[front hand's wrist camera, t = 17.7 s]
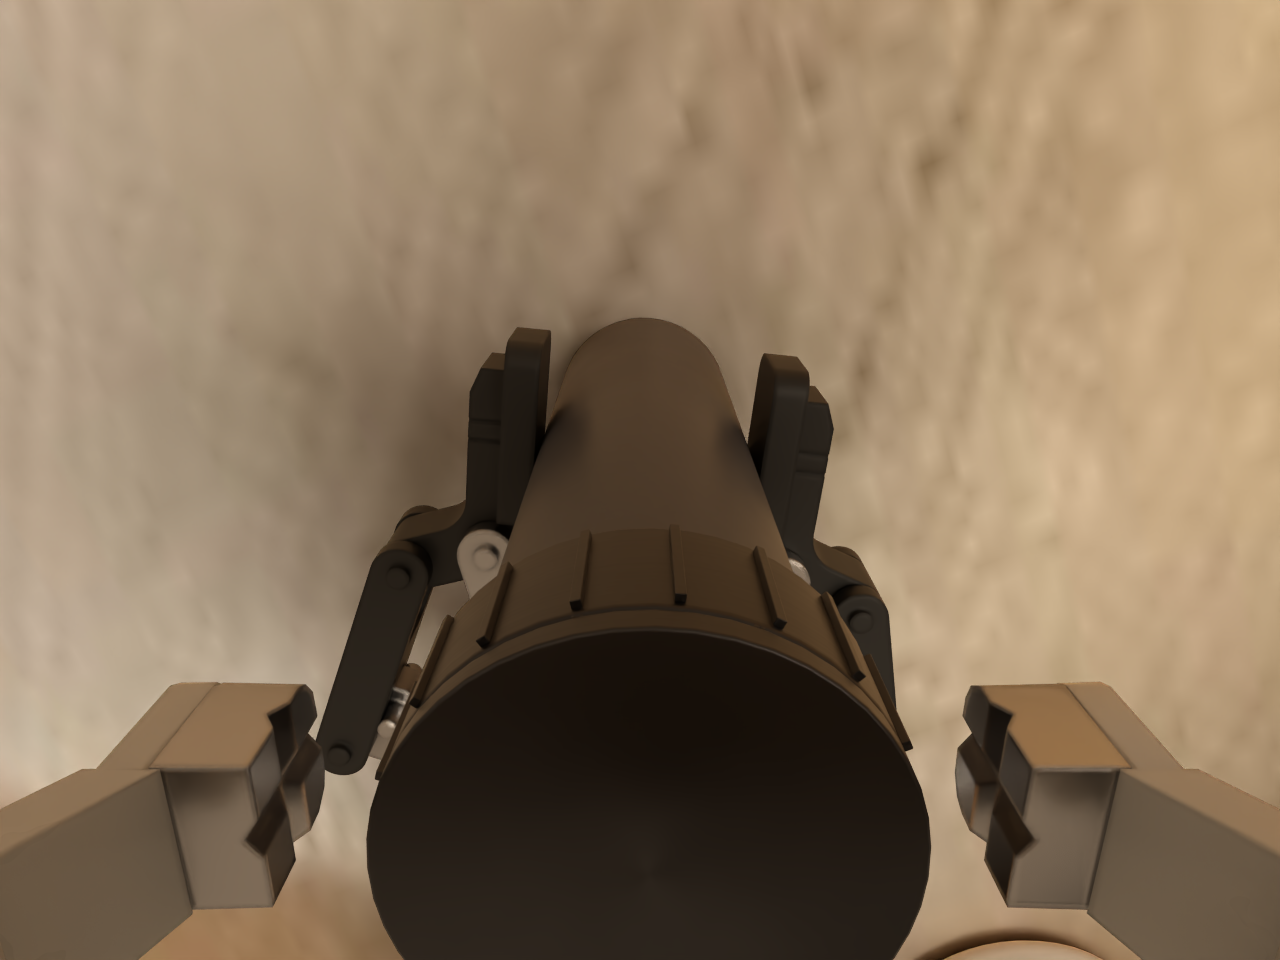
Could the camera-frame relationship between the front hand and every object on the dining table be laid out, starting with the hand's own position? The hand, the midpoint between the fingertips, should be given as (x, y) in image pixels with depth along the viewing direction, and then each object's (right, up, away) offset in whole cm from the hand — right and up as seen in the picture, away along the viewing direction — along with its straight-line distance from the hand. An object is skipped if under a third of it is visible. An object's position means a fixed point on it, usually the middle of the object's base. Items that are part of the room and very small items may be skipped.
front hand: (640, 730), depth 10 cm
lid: (0, -1, -2) cm, 2 cm away
